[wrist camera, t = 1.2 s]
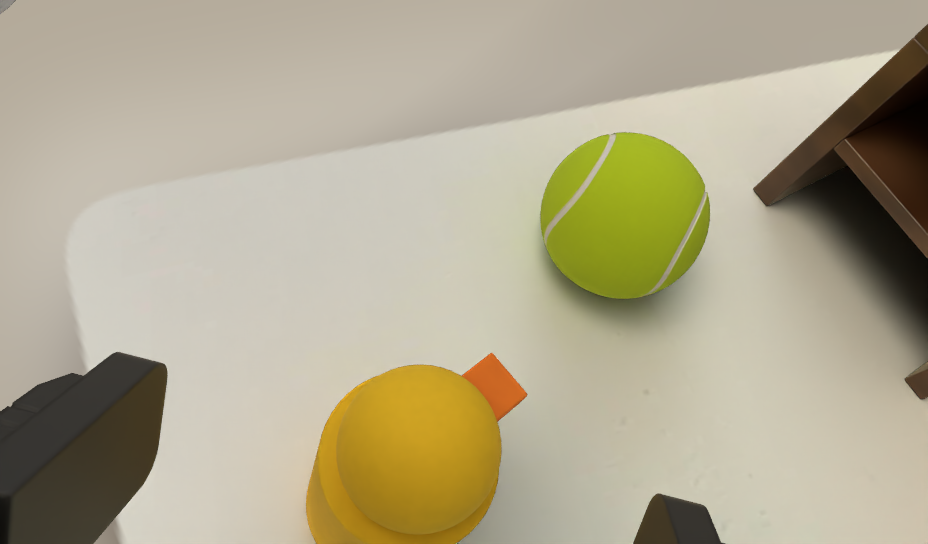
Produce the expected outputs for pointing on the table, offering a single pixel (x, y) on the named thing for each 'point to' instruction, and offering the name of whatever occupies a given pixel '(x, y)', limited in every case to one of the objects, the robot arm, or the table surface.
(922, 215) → the shelf
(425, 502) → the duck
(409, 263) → the table surface
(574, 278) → the tennis ball
